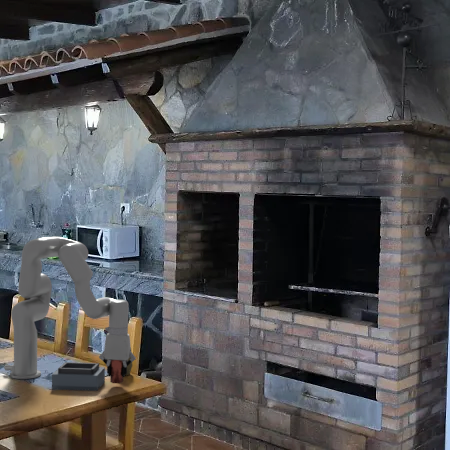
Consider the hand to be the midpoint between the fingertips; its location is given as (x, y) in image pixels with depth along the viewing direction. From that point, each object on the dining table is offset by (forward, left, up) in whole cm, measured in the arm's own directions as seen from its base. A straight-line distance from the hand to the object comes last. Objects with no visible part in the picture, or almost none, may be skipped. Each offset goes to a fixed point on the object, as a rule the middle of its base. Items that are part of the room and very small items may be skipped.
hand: (116, 375), depth 283 cm
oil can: (0, 0, -3) cm, 3 cm away
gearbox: (-15, 0, -5) cm, 16 cm away
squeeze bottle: (-1, +19, -5) cm, 19 cm away
